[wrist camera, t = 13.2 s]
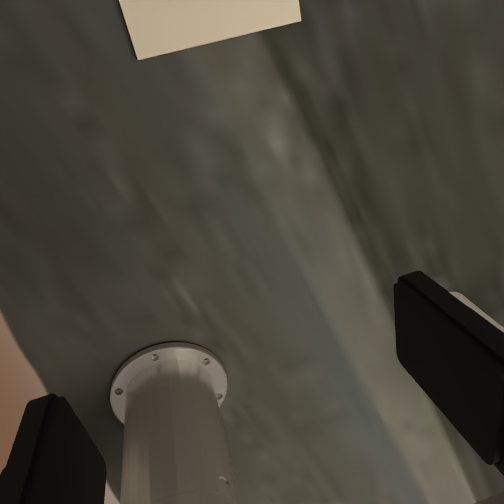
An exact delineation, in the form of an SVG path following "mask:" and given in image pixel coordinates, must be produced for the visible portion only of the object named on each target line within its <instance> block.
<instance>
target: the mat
mask: <svg viewBox="0 0 504 504" xmlns="http://www.w3.org/2000/svg"><path fill="white" fill-rule="evenodd" d="M119 2H120V5H121V8H122V12H123V15H124V18H125V21H126V24H127V27H128V31H129V34H130V37H131V40H132V43H133V46H134V49H135V53H136V56H137V59H138V60H141V59H145V58H150V57H154V56H158V55H162V54H166V53H170V52H174V51H179V50H183V49H187V48H191V47H195V46H199V45H203V44H208V43H212V42H216V41H220V40H224V39H228V38H232V37H237V36H241V35H245V34H249V33H253V32H257V31H261V30H266V29H270V28H274V27H278V26H282V25H286V24H290V23H295V22H299V21H301V15H300V7H299V0H119Z"/></svg>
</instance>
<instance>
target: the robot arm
mask: <svg viewBox="0 0 504 504" xmlns="http://www.w3.org/2000/svg"><path fill="white" fill-rule="evenodd" d="M394 309H395V330H396V352H397V357H398V359H399V361H400V363H401V364H402V366H403V367H404V368H405V369H406V370H407V372H408V373H409V374H410V375H411V376H412V377H413V379H414V380H415V381H416V382H417V383H418V385H419V386H420V387H421V388H422V389H423V390H424V392H425V393H426V394H427V395H428V396H429V397H430V399H431V400H432V401H433V402H434V403H435V404H436V406H437V407H438V408H439V409H440V410H441V411H442V413H443V414H444V415H445V416H446V417H447V418H448V420H449V421H450V422H451V423H452V424H453V426H454V427H455V428H456V429H457V430H458V431H459V433H460V434H461V435H462V436H463V437H464V438H465V440H466V441H467V442H468V443H469V444H470V445H471V447H472V448H473V449H474V450H475V451H476V452H477V454H478V455H479V456H480V457H481V458H482V459H483V460H484V461H485V462H486V463H487V464H489V465H492V464H494V465H495V466H496V467H497V469H498V470H499V471H500V472H501V473H502V474H503V475H504V332H502V331H501V330H500V329H498V328H497V327H496V326H494V325H493V324H492V323H490V322H489V321H488V320H486V319H485V318H484V317H482V316H481V315H480V314H478V313H477V312H476V311H474V310H473V309H472V308H470V307H468V306H467V305H465V304H464V303H463V302H461V301H460V300H459V299H457V298H456V297H455V296H453V295H452V294H451V293H449V292H448V291H447V290H445V289H444V288H443V287H441V286H440V285H439V284H437V283H436V282H435V281H433V280H432V279H431V278H430V277H428V276H427V275H426V274H424V273H423V272H421V271H415V272H412V273H409V274H406V275H403V276H400V277H399V278H398V283H396V284H394ZM226 392H227V377H226V373H225V370H224V367H223V365H222V363H221V362H220V360H219V359H218V358H217V357H216V356H215V355H214V354H213V353H212V352H210V351H208V350H207V349H205V348H203V347H200V346H197V345H195V344H189V343H183V342H171V343H164V344H159V345H155V346H152V347H149V348H147V349H144V350H142V351H140V352H138V353H137V354H135V355H134V356H132V357H131V358H129V359H128V360H127V361H126V362H125V363H124V364H123V365H122V366H121V367H120V369H119V370H118V372H117V373H116V374H115V377H114V379H113V382H112V386H111V393H110V402H111V406H112V410H113V412H114V414H115V415H116V417H117V418H118V419H119V420H120V421H121V422H122V423H123V424H124V440H123V460H122V480H121V500H120V504H240V500H239V496H238V491H237V487H236V482H235V478H234V473H233V469H232V464H231V460H230V455H229V451H228V446H227V442H226V437H225V433H224V428H223V424H222V419H221V415H220V410H219V407H220V406H221V404H222V402H223V400H224V399H225V396H226ZM105 485H106V464H105V461H104V459H103V457H102V455H101V454H100V452H99V451H98V449H97V447H96V446H95V444H94V443H93V441H92V439H91V438H90V436H89V435H88V433H87V432H86V430H85V428H84V427H83V425H82V424H81V422H80V420H79V419H78V417H77V416H76V414H75V413H74V411H73V409H72V408H71V406H70V405H69V403H68V401H67V400H66V399H65V397H63V396H61V397H57V395H55V394H49V395H46V396H43V397H40V398H37V399H34V400H31V401H29V402H28V404H27V405H26V408H25V411H24V414H23V417H22V420H21V423H20V426H19V429H18V432H17V435H16V438H15V441H14V444H13V447H12V450H11V453H10V456H9V459H8V462H7V465H6V467H5V468H4V469H3V470H2V472H1V474H0V504H104V496H105ZM475 504H504V492H502V493H500V494H497V495H495V496H492V497H490V498H487V499H484V500H482V501H479V502H477V503H475Z"/></svg>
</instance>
